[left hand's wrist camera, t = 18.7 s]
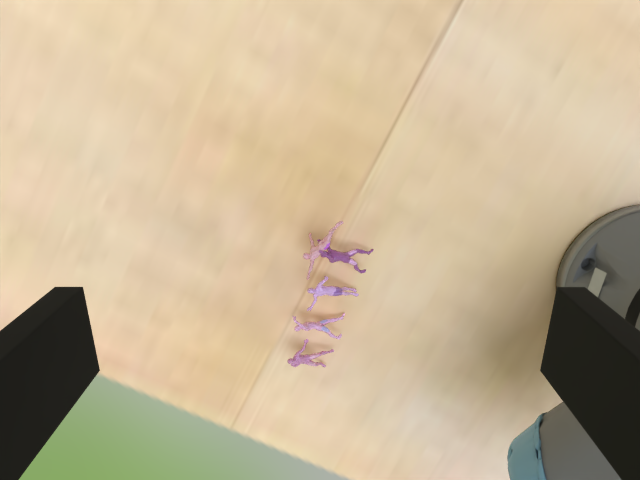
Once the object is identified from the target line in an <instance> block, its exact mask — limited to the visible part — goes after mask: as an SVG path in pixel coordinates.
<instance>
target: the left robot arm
mask: <svg viewBox="0 0 640 480" xmlns="http://www.w3.org/2000/svg"><path fill="white" fill-rule="evenodd" d="M99 371H100V369H99V364H98V360H97V355H96V350H95V345H94V340H93V335H92V330H91V325H90V320H89V315H88V310H87V305H86V300H85V295H84V290H83V287H54V288H53V289H52V290H51V291H50V292H48V293H47V294H46V295H45V296H43V297H42V298H41V299H40V300H38V301H37V302H36V303H35V304H33V305H32V306H31V307H30V308H28V309H27V310H26V311H25V312H23V313H22V314H21V315H20V316H18V317H17V318H16V319H15V320H13V321H12V322H11V323H10V324H8V325H7V326H6V327H5V328H3V329H2V330H1V331H0V480H19V478H20V477H21V475H22V474H23V473H24V471H25V470H26V469H27V467H28V466H29V465H30V463H31V462H32V461H33V459H34V458H35V457H36V455H37V454H38V453H39V451H40V450H41V449H42V447H43V446H44V445H45V443H46V442H47V441H48V439H49V438H50V437H51V435H52V434H53V433H54V431H55V430H56V429H57V427H58V426H59V425H60V423H61V422H62V420H63V419H64V418H65V416H66V415H67V414H68V412H69V411H70V410H71V408H72V407H73V406H74V404H75V403H76V402H77V400H78V399H79V398H80V396H81V395H82V394H83V392H84V391H85V389H86V388H87V387H88V386H89V384H90V383H91V382H92V380H93V379H94V377H95V376H96V375H97V373H98V372H99ZM540 371H541V372H542V373H543V375H544V376H545V377H546V379H547V380H548V382H549V383H550V384H551V386H552V387H553V388H554V390H555V391H556V392H557V394H558V395H559V396H560V398H561V399H562V400H563V402H562V403H561V404H559V405H558V406H556V407H555V408H553V409H552V410H550V411H549V412H546V413H543V414H541V415H540V416H539V417H538V418H537V420H536V421H535V423H533V424H532V425H531V426H530V427H529V428H527V429H526V430H525V431H524V432H522V433H521V434H520V435H518V436H517V437H516V438H515V439H514V440H513V441H512V443H511V445H510V447H509V450H508V471H509V476H510V480H640V205H635V206H630V207H626V208H622V209H619V210H616V211H614V212H611V213H609V214H607V215H605V216H603V217H602V218H600V219H598V220H597V221H595V222H594V223H592V224H591V225H590V226H588V227H587V228H586V229H585V230H584V231H583V232H582V233H581V234H580V235H579V236H578V237H577V238H576V239H575V240H574V241H573V243H572V244H571V245H570V247H569V248H568V250H567V251H566V253H565V255H564V257H563V259H562V261H561V264H560V267H559V270H558V275H557V282H556V295H555V300H554V305H553V310H552V315H551V320H550V325H549V330H548V335H547V340H546V345H545V350H544V355H543V360H542V364H541V369H540Z"/></svg>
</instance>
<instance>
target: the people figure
mask: <svg viewBox="0 0 640 480" xmlns="http://www.w3.org/2000/svg"><path fill="white" fill-rule="evenodd" d="M341 224H343V221H340V222H338V223H337V224H336V226H335V227H333V228H332V229H331V230H330V231H329V234H328V235H327V236H326V237H324V239H322V240H317V241H319V242H318V243H319V245H318V246H314V242H313V239H312V238H311V233H309V238H310V242H311V249H310V254H307V253H304V254H303V258H304V259H310V262H311V263H310V267H309V271H308V275H307V280H308V279H309V277H310V272H311V270H312V268H313V264H314V259H316V258H317V257H318V256H319V255H321V257H327V258H328V259H329V261H330V262H331V263H333V262H336V261H343V262H344V263H349V264H351V265H354V268H355V270H357V271H358V272H360V273H364V272H366V269H365V270H359V268H358V266H357V262H356V261H354V260H353V259H351V258H349V257H351V256H353V255H354V254H356V253H367V254H370V253H371V252H372V251H373V249H371V250H370V251H368V252H367V251H364V250H361V249H355V250H351V251H349V252H345V253H343V252H338V251H336V250H332V249H330V239H331V237H332V234H333V232H334V231H335V229H336V228H337V227H338V226H340V225H341ZM326 249H327V250H328V252H326V251H324V250H326ZM327 280H328V277H327V276H325V279H324V280H323V281H321V282H320V283H318V285H317V287H316V288H315V289H313V288H309V289H308V293H314V294H313V297H314V301H313V303H312V305H311V307H309V308H308V309H307V311H308V310H310V309H312V307H313V305H314V304H315V303H316V301H317V296H322V295H329V296H339V295H350V294H352V295H354V296H358V295H359V294H357V293H352V292H351V293H350V292H344V291H343V290H352V291H354V292H356V289H354V288H347V287H343V288H340V287H335V286H323V285H322V284H323V283H325V282H326V281H327ZM310 311H311V310H310ZM344 314H345V313H343V315H342V316H341V317H340V318H332V319H325V320H322V321H318V322H305V323H303V324H301V323H299V322H298V321H296V320H295V319H296V316H295V317H294V316H293V320H294V321H295V322H296V323H297V324H298V325H297V326H296V327H295V331H299V330H300V329H303V330H306V331H308V330H310V329H313V328H314V329H316V330H318V331H324V332H326V333H328V334H329V336H330V337H333V338H336V339H340V338H341V334H340V335H339V336H338V337H336V336H335V335H333V334H332V333H331V332H330V330H329V329H328V328H327V327H325V326H324V325H325V324H327V323H330V322H335V321H337V320H340V319H341V320H343V317H344ZM304 342H305V344H304V346H303V347H302V349H301V350H300V351H298V352H297V353H296V354H295V355H294V357H293V359H291V358H290V359H288V363H289V364H291V366H293V367H297V366H298V365H299V364H301V363H303V364H307V365H310V366H318V365H320V364H321V365H322V366H323V367H326V365H324V364H323V363H321V362H320V363H318V362H316V363H315V362H313V361H312V360H311V359H315V358H317V357H319V356H321V355H324V354H326V353H331V352H334V350H333V349H331V350H330V351H321V352H320V353H314V354H310V355H301V354H300V353H302V352H303V351H304V349H305V346H306V344H307V342H308V339H306V341H305V340H304Z"/></svg>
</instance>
